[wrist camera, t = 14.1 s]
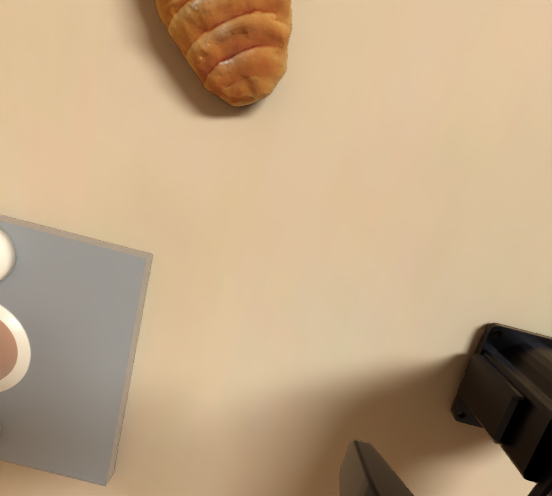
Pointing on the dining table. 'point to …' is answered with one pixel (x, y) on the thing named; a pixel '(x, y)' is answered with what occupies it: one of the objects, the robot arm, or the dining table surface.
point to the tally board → (67, 347)
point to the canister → (7, 351)
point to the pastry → (232, 43)
